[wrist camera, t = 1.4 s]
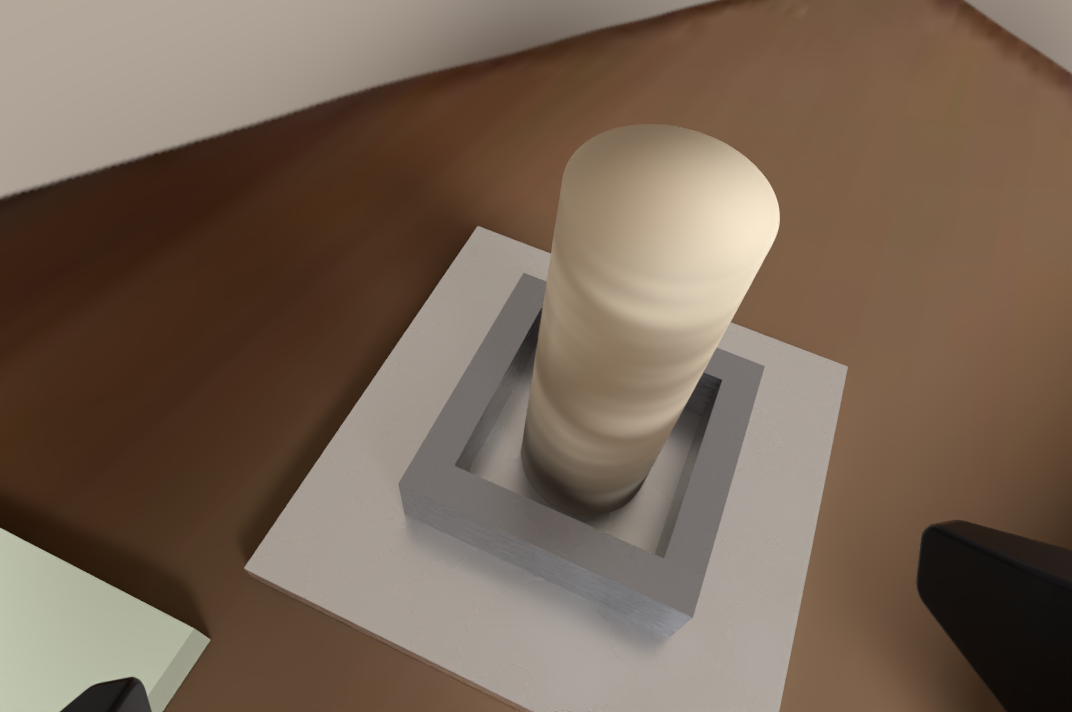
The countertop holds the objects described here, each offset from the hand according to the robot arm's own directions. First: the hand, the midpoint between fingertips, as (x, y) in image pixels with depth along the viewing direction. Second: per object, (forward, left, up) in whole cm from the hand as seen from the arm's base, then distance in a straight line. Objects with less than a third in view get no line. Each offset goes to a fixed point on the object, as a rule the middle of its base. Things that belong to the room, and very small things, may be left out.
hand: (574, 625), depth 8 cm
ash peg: (+1, -9, -13) cm, 16 cm away
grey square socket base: (+1, -9, -14) cm, 17 cm away
